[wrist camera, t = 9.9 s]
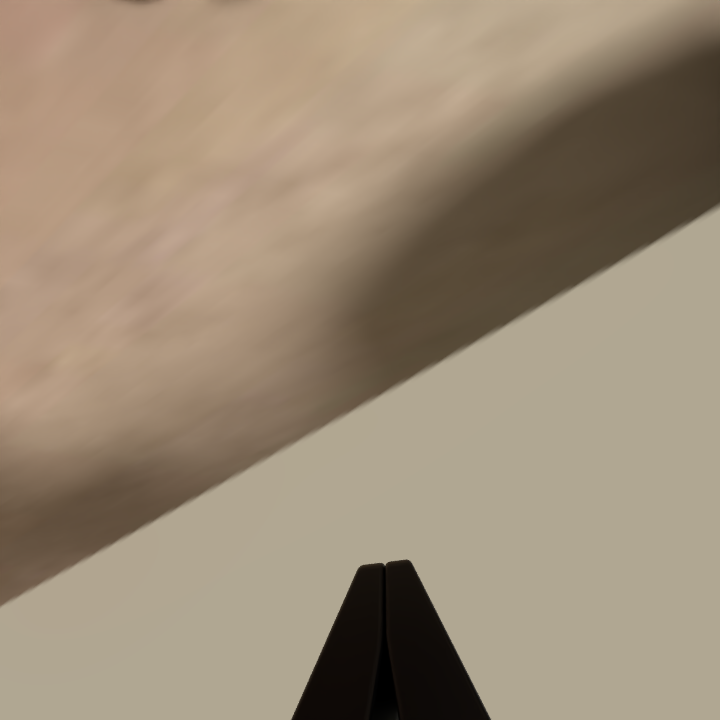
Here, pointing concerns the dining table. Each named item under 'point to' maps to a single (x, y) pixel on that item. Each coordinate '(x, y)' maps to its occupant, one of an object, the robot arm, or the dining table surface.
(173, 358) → the dining table surface
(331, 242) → the dining table surface
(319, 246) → the dining table surface
